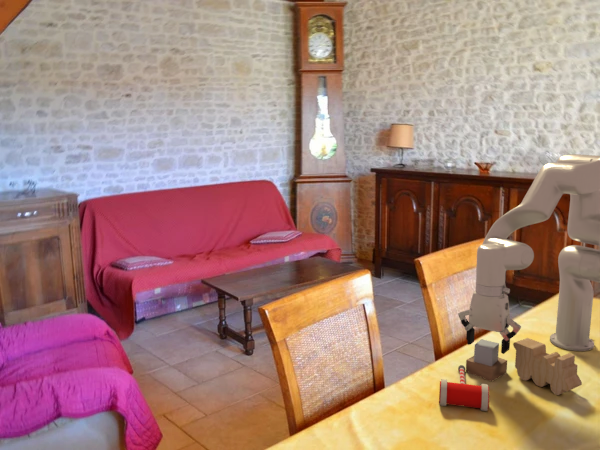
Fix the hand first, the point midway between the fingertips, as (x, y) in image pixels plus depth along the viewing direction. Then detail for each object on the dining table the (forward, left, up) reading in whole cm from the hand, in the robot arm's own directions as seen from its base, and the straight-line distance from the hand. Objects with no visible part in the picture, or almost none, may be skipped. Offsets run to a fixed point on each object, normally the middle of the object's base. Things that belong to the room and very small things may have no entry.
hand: (487, 347), depth 151 cm
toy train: (-4, +15, -8) cm, 17 cm away
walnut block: (0, 0, -8) cm, 8 cm away
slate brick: (0, 0, -4) cm, 4 cm away
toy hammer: (+16, 0, -8) cm, 18 cm away
